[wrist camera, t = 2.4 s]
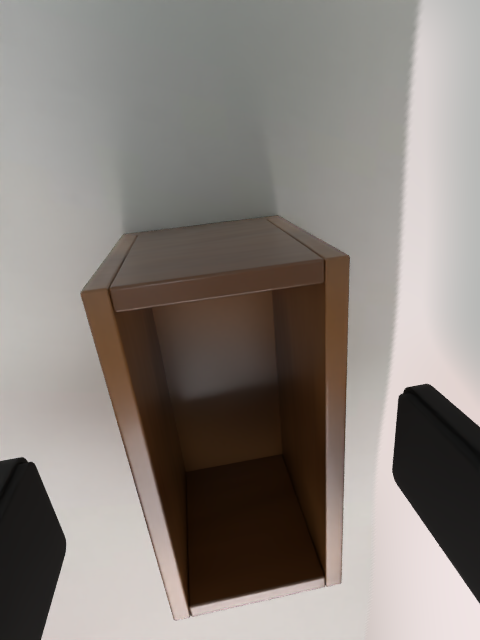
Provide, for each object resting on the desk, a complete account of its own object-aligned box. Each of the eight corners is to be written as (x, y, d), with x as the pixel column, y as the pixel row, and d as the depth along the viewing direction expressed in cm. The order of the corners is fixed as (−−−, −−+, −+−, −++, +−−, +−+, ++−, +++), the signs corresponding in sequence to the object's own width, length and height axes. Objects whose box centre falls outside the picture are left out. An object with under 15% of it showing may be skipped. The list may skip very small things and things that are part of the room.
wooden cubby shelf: (122, 234, 12) (78, 292, 7) (278, 214, 12) (350, 255, 7) (175, 472, 16) (173, 621, 11) (290, 450, 16) (342, 583, 11)
